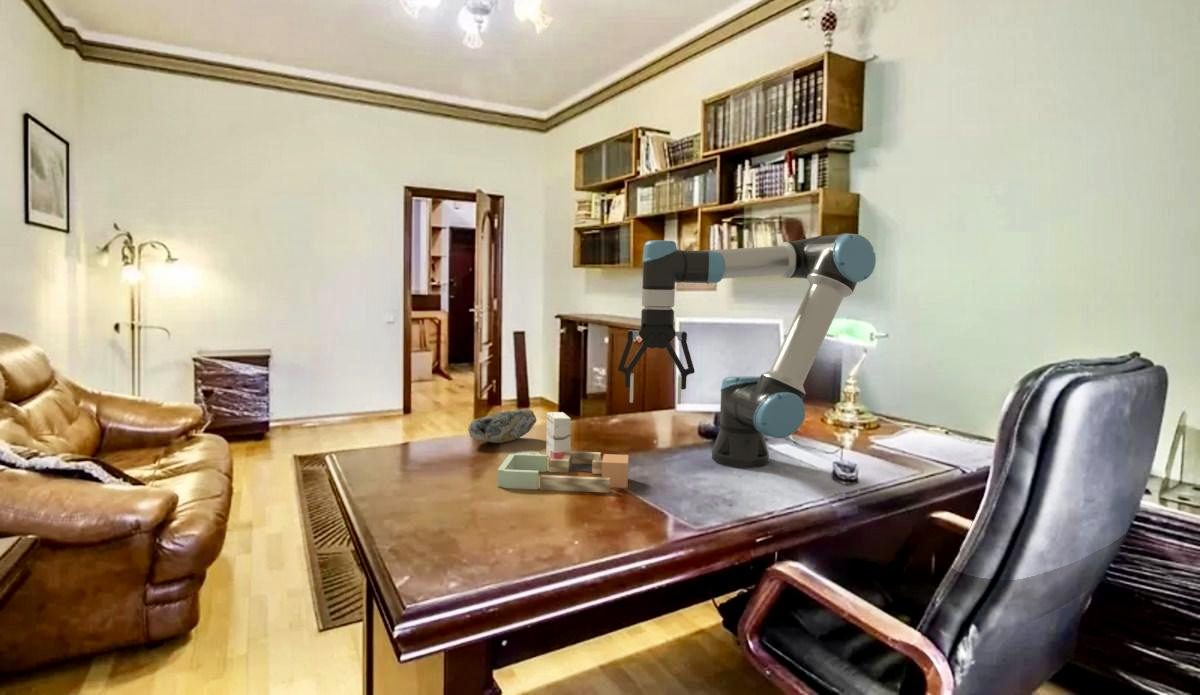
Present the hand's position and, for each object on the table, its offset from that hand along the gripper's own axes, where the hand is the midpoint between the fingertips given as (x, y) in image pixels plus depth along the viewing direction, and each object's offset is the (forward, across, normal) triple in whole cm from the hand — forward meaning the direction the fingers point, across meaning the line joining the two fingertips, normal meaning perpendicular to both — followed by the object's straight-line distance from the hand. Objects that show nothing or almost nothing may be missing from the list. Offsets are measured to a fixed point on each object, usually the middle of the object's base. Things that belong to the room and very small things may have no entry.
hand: (655, 402), depth 153 cm
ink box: (+20, +25, -19) cm, 37 cm away
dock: (+20, +31, 0) cm, 37 cm away
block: (+20, +9, 0) cm, 22 cm away
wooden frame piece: (+20, +18, -4) cm, 27 cm away
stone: (+20, +43, -32) cm, 57 cm away
